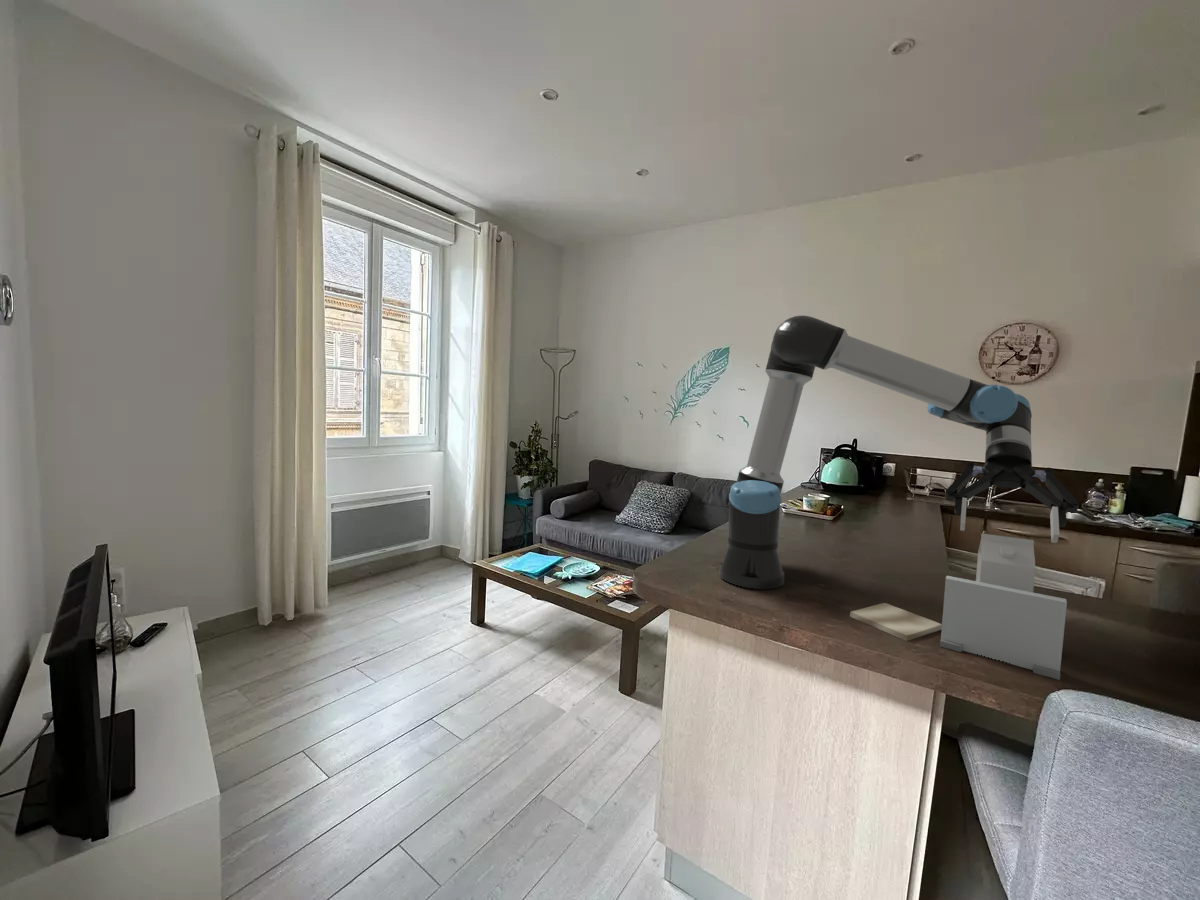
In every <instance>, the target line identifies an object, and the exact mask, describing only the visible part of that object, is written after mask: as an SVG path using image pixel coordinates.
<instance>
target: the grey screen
mask: <svg viewBox="0 0 1200 900" xmlns="http://www.w3.org/2000/svg"><path fill="white" fill-rule="evenodd" d="M1067 605H1068V602H1067V599H1066V598H1063V597H1057V596H1052V595H1047V594H1042V593H1036V592H1034V591H1033V592H1028V591H1023V590H1018V589H1013V588H1008V587H1003V586H997V585H992V584H987V583H982V582H977V581H976V580H972V579H966V578H962V577H955V576H951V575H946V576H945V583H944V596H943V607H942V608H943V609H942V621H941V624H942V630H940V631H941V634H940V635H941V636H940V641H939V647H942V648H944V649H948V650H952V651H955V652H959V653H962V652H966V653H970V654H973V655H977V654H978V656H981V655H982V656H981V657H984V656H985V657H984V658H988V657H989V659H991V658H992V660H995V659H996V660H995V661H998V660H1000V662H1002V661H1004V662H1003V663H1006V662H1007V664H1009V663H1010V664H1009V665H1013V666H1017V667H1020V668H1023V669H1024V668H1025V669H1028V670H1031V671H1032V673H1033V674H1037V675H1040V676H1044V677H1048V678H1050V677H1051V679H1054V680H1058V681H1060V680H1061V666H1062V665H1061V664H1062V654H1063V645H1064V635H1065V626H1066V614H1067V607H1068V606H1067Z"/></svg>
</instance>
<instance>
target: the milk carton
mask: <svg viewBox="0 0 1200 900" xmlns="http://www.w3.org/2000/svg"><path fill="white" fill-rule="evenodd" d="M980 534H981V538H980V541H979V545H978V551H977V559H976V560H977V561H976V562H977V564H976V574H975V575H976V576H975V581H977V582H982V583H987V584H992V585H997V586H1003V587H1008V588H1013V589H1018V590H1023V591H1028V592H1033V593H1034V588H1035V586H1034V585H1035V578H1036V576H1035V575H1036V559H1035V548H1034V545H1035V540H1033V539H1027V538H1019V537H1012V536H1011V537H1010V536H1005V535H996V534H987V533H980Z"/></svg>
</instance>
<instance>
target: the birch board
mask: <svg viewBox="0 0 1200 900" xmlns="http://www.w3.org/2000/svg"><path fill="white" fill-rule="evenodd" d="M849 612H850V613H849V617H850V618H853V619H854V620H857V621H858V622H859V621H860V622H862V623H864V624H866V625H869V626H871V627H873V628H876V629H878V630H880V631H883V632H885V633H887V634H889V635H891V636H895V637H897V638H899V639H901V640H904V641H905V642H908V641H912V640H914V639H917V638H920V637H923V636H926V635H930V634H931V633H935V632H938V631H942V623H939V622H937V621H934V620H932V619H929V618H927V617H924V616H920V615H918V614H916V613H913V612H910V611H907V610H905V609H903V608H900V607H897V606H894V605H892V604H890V603H886V602H882V603H878V604H874V605H871V606H866V607H864V608H859V609H856V610H851V611H849Z"/></svg>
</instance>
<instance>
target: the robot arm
mask: <svg viewBox="0 0 1200 900" xmlns="http://www.w3.org/2000/svg"><path fill="white" fill-rule="evenodd" d="M816 368H818V369H821V370H824V371H825V370H827V369H834V370H837V371H840V372H842V373H845V374H848V375H851V376H853V377H856V378H858V379H860V380H864V381H867V382H869V383H872V384H876V385H877V386H881V387H883V388H886V389H889V390H890V391H894V392H896V393H899V394H901V395H904V396H908V397H910V398H913V399H916V400H918V401H921V402H924V403H926V404H927V412H928V414H930V415H932V416H934V417H935V416H936V417H938V418H940V419H944V420H947V421H951V422H955V423H958V424H961V425H966V426H969V427H971V428H974V429H978V430H981V431H985V433H986V434H985V436H986V438H985V456H984V457H985V459H984V465H983V466H978V465H975V464H974V463H973V462H968V463H967V464H966V467H965V470H964V471H963V472H962V473H961V474H960V475H959V476H958V477H957V478H956V479H955V480H954V481H953V482H952V483H951V485H949V487H947V488H946V490H945V493H944V494H945V495H944V499H945V501H949V502H950V501H952V502H954V511H953V512H954V514H955V516H956V515H958V516H960V524H959V525H960V527H959V531H960V532H961V531H962V532H965V530H966V520H967V519H966V516H967V502H968V500H970V499H971V498H973V497H975V496H976V495H977V494H979V493H981V492H983V491H985V490H988V489H990V488H992V487H993V486H996V488H1009V489H1014V490H1015V489H1018V488H1020V489H1021V490H1023V491H1024V492H1025V493H1029V494H1030V495H1031V496H1033V498H1035V499H1036V500H1038V501H1039V502H1041V503H1042V504H1043V505H1044V506H1045V507H1047V508H1048V509H1050V514H1049V518H1050V539H1051V541H1050V542H1051V544H1052V543H1053V544H1058V541H1059V537H1060V528H1065V526H1066V524H1067V514H1069V513H1070V514H1077V512H1078V510H1079V507H1080V503H1079V501H1078V500H1077V499H1076V498H1075V496H1073V495H1072V493H1071V492H1070V491H1069V490H1068V489H1067V488H1066V487H1065V485H1063V483H1062V482H1061V481H1060V480H1059V479H1058V478H1057V476H1055V475H1056V474H1055V472H1054V469H1053V467H1050V466H1049V467H1046V468H1045V469H1044V470H1043V469H1041V470H1040V469H1039V470H1037V469H1035V468H1033V463H1032V461H1033V460H1032V459H1033V458H1032V457H1033V456H1032V454H1033V453H1032V410H1031V405H1030V402H1029V400H1028V398H1026V397H1025V396H1023V395H1021V394H1018V393H1015V392H1014V391H1013V390H1012V389H1011V388H1009V387H1007V386H1004V385H998V384H986V383H983V382H980V381H977V380H975V379H972V378H968V377H965V376H963V375H960V374H957V373H955V372H952V371H949V370H947V369H943V368H941V367H938V366H935V365H932V364H929V363H926V362H923V361H920V360H918V359H915V358H912V357H909V356H906V355H903V354H901V353H899V352H895V351H893V350H889V349H887V348H884V347H881V346H878V345H875V344H873V343H870V342H867V341H865V340H862V339H858V338H856V337H853V336H850V335H848V333H847V329H845V328H842V327H841V326H840V327H839V326H837V325H834V324H832V323H829V322H826V321H825V320H821V319H818V318H816V317H814V316H809V315H795V316H792V317H790V318H787V319H785V320H784V321H783V322H781V323H780V324H779V325H778V327H777V329H776V330H775V332H774V334H773V337H772V341H771V345H770V352H769V354H768V360H767V363H766V367H765V371H764V372H765V373H766V375H767V376H768V377H769V378H768V383H767V387H766V391H765V395H764V398H763V401H762V402H763V403H762V406H761V409H760V414H759V418H758V422H757V426H756V429H755V432H754V433H755V434H754V437H753V441H752V445H751V447H750V448H751V449H750V451H749V457H748V458H747V459H748V460H747V463H746V466H744V467H743V468H741V469H739V470H738V471H739V472H738V475H737V479H736V482H734V483H733V484H731V485H730V490H729V493H728V499H729V504H728V505H729V507H728V508H729V509H728V530H727V531H728V533H727V537H728V538H727V547H726V549H725V552H724V555H723V558H722V561H721V562H720V564H719V571H718V572H719V573H718V575H720V576H719V577H720V578H721V580H723V579H724V580H725V582H726V581H727V582H726V583H728V582H729V583H728V584H730V583H732V584H731V585H733V584H735V585H734V586H736V585H738V587H740V586H742V587H741V588H745V587H746V588H745V589H751V588H753V589H754V590H774V589H778V588H780V587H782V586H784V585H785V571H784V569H783V568H782V563H781V558H780V554H779V530H780V514H781V513H780V510H781V503H782V497H781V493H782V491H783V486H784V482H785V480H784V479H783V478H782V476H781V470H782V466H783V462H784V461H785V460H784V458H785V455H786V451H787V450H788V449H787V448H788V444H789V440H790V437H791V433H792V431H793V426H794V422H795V419H796V415H797V412H798V409H799V404H800V400H801V396H802V392H803V389H804V385H805V384H807V383H809V382H810V381H812V380H813V377H814V374H815V373H814V372H815V370H816ZM978 474H981V475H983V476H982V477H981V478H979V479H978V480H976V481H975V482H973V483H971V484H970V485H968V486H966V485H967V484H968V483H969V482H970V481H971V480H972V478H973V477H976V476H977V475H978ZM1035 478H1038V479H1039V480H1040V481H1041V482H1042V483H1044V485H1045V486H1046V487H1047V489H1048V490H1047V489H1046V488H1044V487H1043V486H1042V485H1040V484H1039V483H1037V481H1036V480H1035ZM965 486H966V487H965ZM964 487H965V488H964ZM724 580H723V581H724Z"/></svg>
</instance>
